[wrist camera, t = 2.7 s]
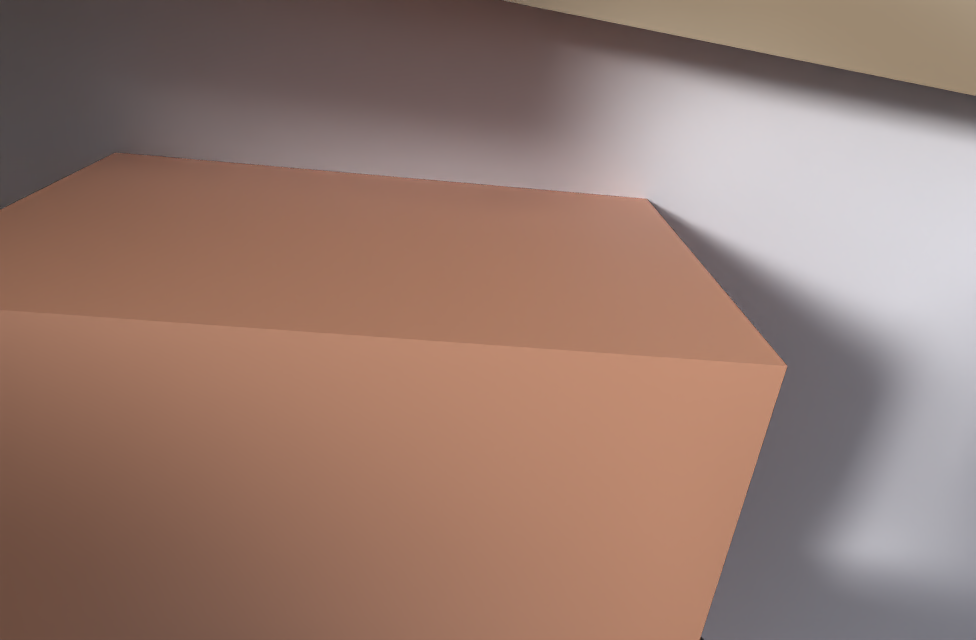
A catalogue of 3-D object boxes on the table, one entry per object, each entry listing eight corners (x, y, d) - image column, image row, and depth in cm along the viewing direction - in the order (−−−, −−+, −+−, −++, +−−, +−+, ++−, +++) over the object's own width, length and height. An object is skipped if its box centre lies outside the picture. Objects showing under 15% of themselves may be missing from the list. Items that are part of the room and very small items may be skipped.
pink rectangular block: (646, 197, 8) (787, 365, 5) (545, 707, 12) (579, 1014, 9) (117, 151, 8) (-177, 296, 4) (187, 694, 12) (64, 1012, 8)
